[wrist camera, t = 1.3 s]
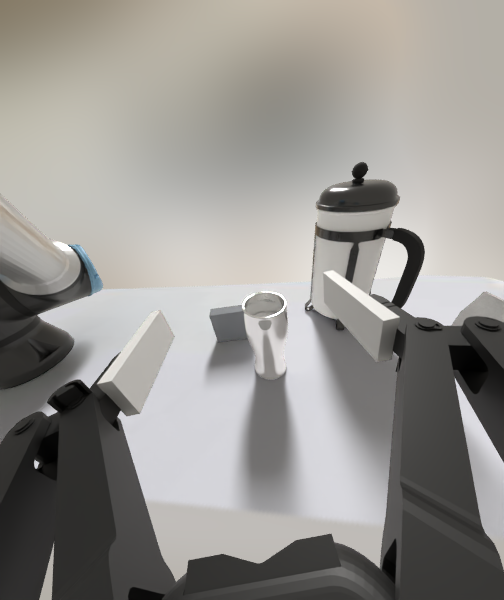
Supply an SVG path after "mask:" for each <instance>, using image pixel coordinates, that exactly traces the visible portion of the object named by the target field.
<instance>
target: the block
mask: <svg viewBox="0 0 504 600" xmlns="http://www.w3.org/2000/svg"><path fill="white" fill-rule="evenodd" d="M210 319H211V322H212V325H213V328H214V331H215V334H216V337H217V340H218V342H225V341H232V340H239V339H247V336H246V332H245V328H244V321H243V310H242V305H238V306H231V307H224V308H216V309H211V310H210Z"/></svg>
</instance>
